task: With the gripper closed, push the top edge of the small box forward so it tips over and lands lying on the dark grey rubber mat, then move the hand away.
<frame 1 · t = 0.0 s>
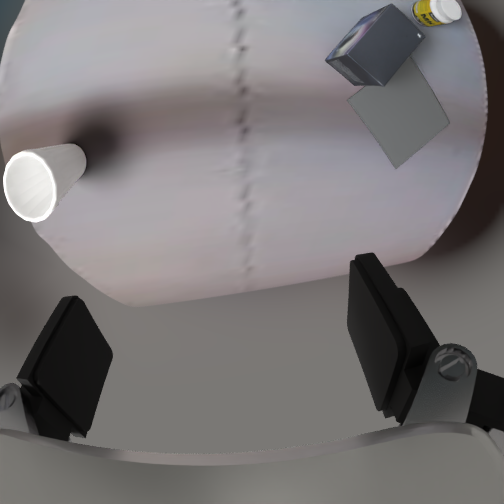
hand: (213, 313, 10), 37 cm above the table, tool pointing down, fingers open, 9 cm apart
supplement bottle: (421, 14, 31), on the table
mat: (403, 110, 40), on the table
cup: (72, 161, 42), on the table
small box: (358, 50, 36), on the table
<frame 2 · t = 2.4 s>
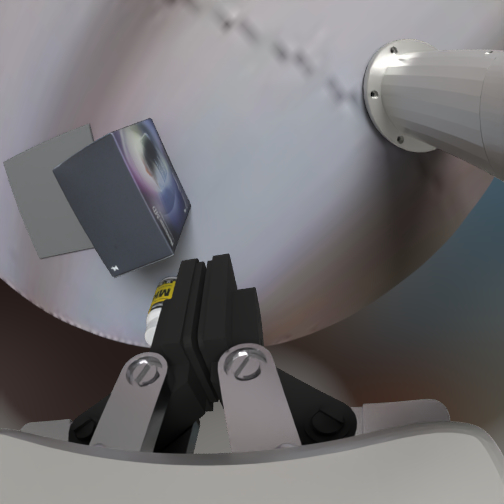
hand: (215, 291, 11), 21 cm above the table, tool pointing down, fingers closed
supplement bottle: (175, 290, 37), on the table
mat: (58, 198, 30), on the table
small box: (148, 172, 30), on the table
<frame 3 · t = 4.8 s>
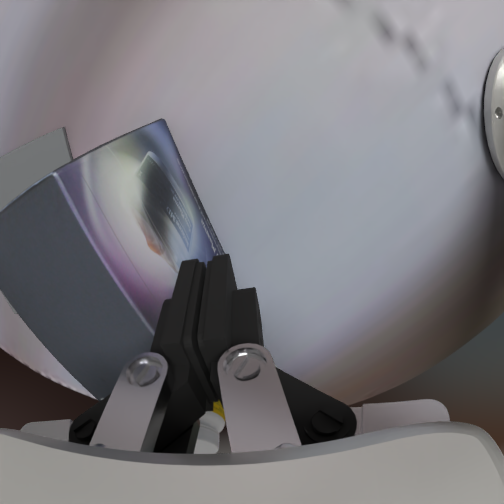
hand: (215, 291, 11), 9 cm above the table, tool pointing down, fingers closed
supplement bottle: (201, 363, 26), on the table
mat: (27, 240, 19), on the table
small box: (159, 210, 19), on the table, touching gripper
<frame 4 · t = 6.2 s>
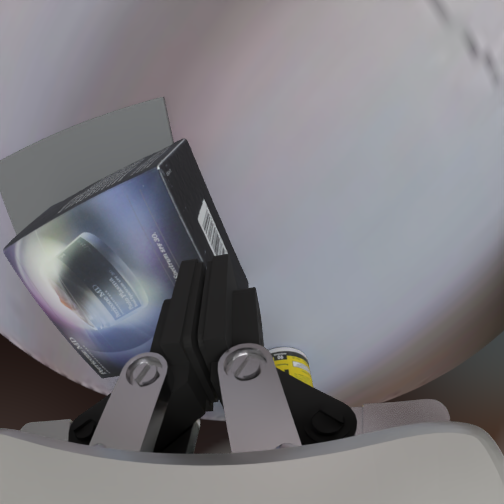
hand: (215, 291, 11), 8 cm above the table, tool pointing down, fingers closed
supplement bottle: (280, 361, 26), on the table
mat: (92, 230, 18), on the table
small box: (221, 242, 15), point 4 cm above the table, touching mat
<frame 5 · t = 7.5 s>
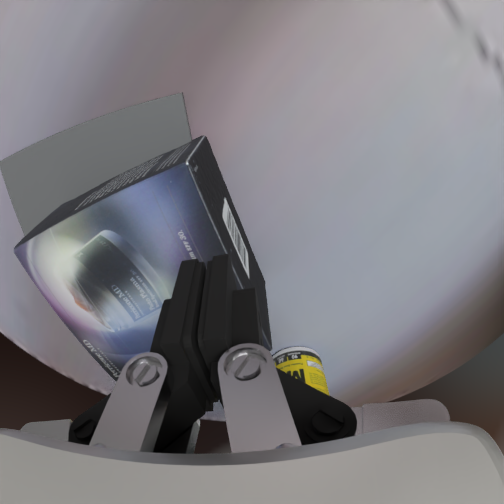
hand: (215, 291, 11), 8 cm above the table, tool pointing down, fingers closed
supplement bottle: (292, 360, 26), on the table
mat: (104, 229, 18), on the table
small box: (243, 240, 15), point 4 cm above the table, touching mat
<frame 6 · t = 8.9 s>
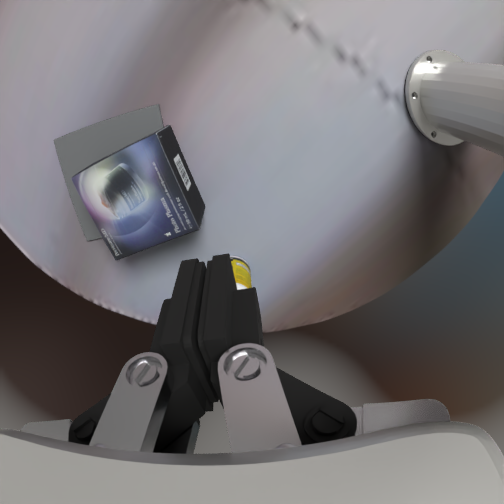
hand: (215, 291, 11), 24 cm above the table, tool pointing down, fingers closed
supplement bottle: (231, 269, 40), on the table
mat: (116, 177, 32), on the table
small box: (186, 173, 29), point 4 cm above the table, touching mat
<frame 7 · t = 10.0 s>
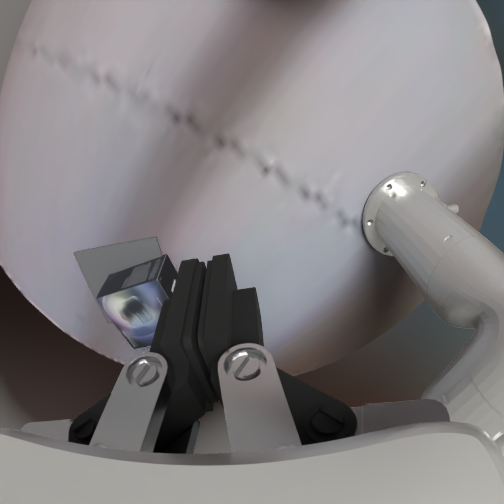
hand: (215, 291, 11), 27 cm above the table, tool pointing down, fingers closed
mat: (128, 284, 44), on the table
small box: (181, 295, 40), point 4 cm above the table, touching mat
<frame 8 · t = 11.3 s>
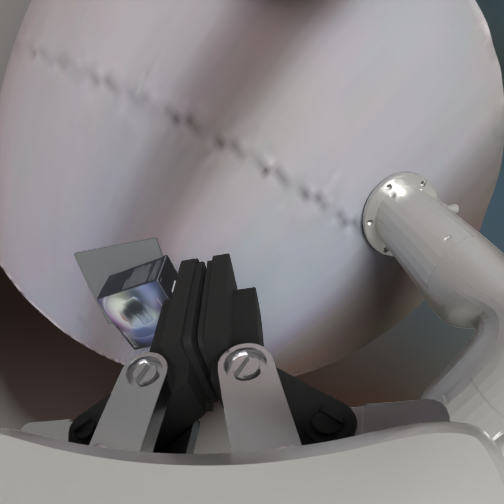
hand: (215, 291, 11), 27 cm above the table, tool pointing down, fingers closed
mat: (128, 285, 44), on the table
small box: (181, 296, 41), point 4 cm above the table, touching mat
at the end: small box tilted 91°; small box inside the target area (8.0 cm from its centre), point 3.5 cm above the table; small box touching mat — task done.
